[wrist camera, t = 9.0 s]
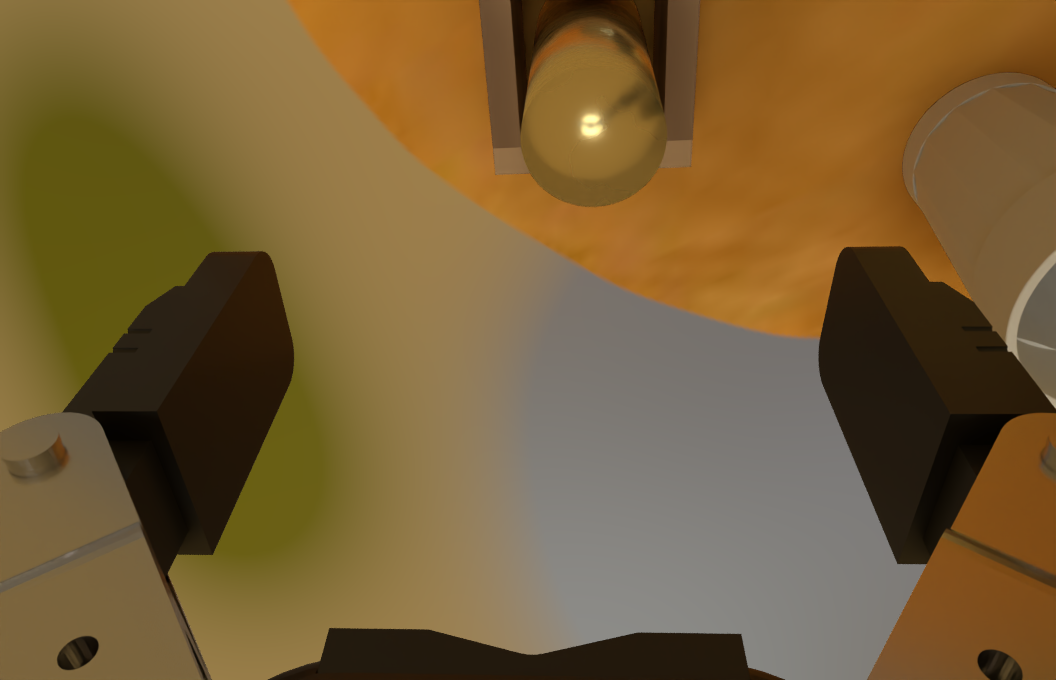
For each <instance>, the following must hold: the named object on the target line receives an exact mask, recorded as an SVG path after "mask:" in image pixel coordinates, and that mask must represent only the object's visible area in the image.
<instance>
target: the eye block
mask: <svg viewBox="0 0 1056 680" xmlns="http://www.w3.org/2000/svg"><path fill="white" fill-rule="evenodd" d="M479 6H480V16H481V27H482V37H483V48H484V58H485V69H486V80H487V90H488V101H489V111H490V122H491V132H492V143H493V154H494V164H495V175H503V174H528V173H530V172H529V170H528V168H527V166H526V164H525V162H524V158H523V155H522V150H521V139H520V134H521V126H522V120H523V113H524V107H525V100H526V94H527V78H526V63H525V48H524V33H523V18H522V2H521V0H479ZM699 13H700V0H655V11H654V52H653V72H654V76H655V80H656V84H657V88H658V92H659V96H660V100H661V104H662V108H663V111H664V115H665V120H666V126H667V144H666V149H665V153H664V157H663V159H662V162H661V164H660V166H659V168H674V167H691V158H692V140H693V122H694V104H695V85H696V67H697V49H698V31H699Z"/></svg>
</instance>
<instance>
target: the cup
mask: <svg viewBox="0 0 1056 680" xmlns="http://www.w3.org/2000/svg"><path fill="white" fill-rule="evenodd" d="M902 170H903V178H904V183H905V186H906V188H907V190H908V192H909V194H910V196H911V197H912V199H913V200H914V201H915V202H916V204H917V205H918V206H919V208H920V209H921V210H922V212H923V213H924V215H925V217H926V219H927V220H928V222H929V224H930V226H931V227H932V229H933V231H934V233H935V234H936V236H937V238H938V240H939V242H940V243H941V245H942V247H943V249H944V250H945V252H946V254H947V256H948V257H949V259H950V261H951V263H952V264H953V266H954V268H955V270H956V271H957V273H958V275H959V277H960V278H961V280H962V282H963V284H964V285H965V287H966V289H967V291H968V292H969V294H970V296H971V298H972V299H973V301H974V303H975V304H976V305H977V307H978V308H979V309H980V311H981V312H982V313H983V315H984V316H985V317H986V318H987V320H988V321H989V322H990V324H991V325H992V326H993V327H992V331H996V332H997V333H998V334H999V335H1000V337H1001V338H1002V339H1003V341H1004V342H1005V343H1006V345H1007V346H1008V348H1007V350H1008V352H1013V354H1014V355H1015V356H1016V358H1017V359H1018V360H1019V362H1020V363H1021V364H1022V365H1023V367H1024V368H1025V369H1026V371H1027V372H1028V373H1029V375H1030V376H1031V377H1032V378H1033V380H1034V381H1035V382H1036V384H1037V385H1038V386H1039V388H1040V389H1041V390H1042V392H1043V393H1044V394H1045V395H1046V397H1047V398H1048V399H1049V401H1050V402H1051V403H1052V405H1053V406H1054V407H1055V408H1056V89H1055V88H1053V87H1052V86H1050V85H1049V84H1047V83H1046V82H1044V81H1043V80H1041V79H1039V78H1036V77H1034V76H1030V75H1027V74H1021V73H997V74H991V75H986V76H982V77H979V78H976V79H973V80H971V81H969V82H966V83H964V84H962V85H960V86H958V87H957V88H955V89H953V90H952V91H950V92H949V93H947V94H946V95H944V96H943V97H942V98H940V99H939V100H938V101H937V102H936V103H935V104H934V105H932V106H931V107H930V108H929V109H928V111H927V112H926V113H925V114H924V115H923V116H922V118H921V119H920V120H919V122H918V123H917V125H916V126H915V128H914V129H913V131H912V133H911V135H910V137H909V139H908V142H907V145H906V148H905V151H904V156H903V165H902Z"/></svg>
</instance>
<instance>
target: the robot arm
mask: <svg viewBox="0 0 1056 680" xmlns="http://www.w3.org/2000/svg"><path fill="white" fill-rule="evenodd" d="M992 327H993V326H992V325H991V324H990V322H989V321H988V320H987V318H986V317H985V316H984V315H983V313H982V312H981V311H980V309H979V308H978V307H977V305H976V304H975V303H974V302H973V301H971V300H970V299H968V298H967V297H965V296H964V295H962V294H960V293H959V292H957V291H956V290H954V289H953V288H951V287H950V286H948V285H947V284H945V283H944V282H929V280H928V279H927V278H926V276H925V275H924V273H923V272H922V271H921V269H920V268H919V266H918V265H917V264H916V262H915V261H914V259H913V258H912V257H911V255H910V254H909V252H908V251H907V250H906V249H905V248H904V247H900V246H897V247H846V248H844V249H843V250H842V251H841V253H840V255H839V257H838V260H837V263H836V268H835V272H834V277H833V281H832V286H831V291H830V295H829V300H828V305H827V309H826V314H825V319H824V323H823V328H822V332H821V337H820V343H819V371H820V377H821V381H822V384H823V387H824V389H825V391H826V394H827V396H828V399H829V401H830V403H831V406H832V408H833V410H834V413H835V415H836V417H837V420H838V422H839V425H840V427H841V430H842V432H843V434H844V437H845V439H846V442H847V444H848V446H849V449H850V451H851V453H852V456H853V458H854V461H855V463H856V465H857V468H858V470H859V473H860V475H861V478H862V480H863V482H864V485H865V487H866V489H867V492H868V494H869V496H870V499H871V502H872V504H873V506H874V509H875V511H876V513H877V516H878V518H879V521H880V523H881V525H882V528H883V530H884V533H885V535H886V537H887V540H888V542H889V545H890V547H891V549H892V552H893V554H894V556H895V559H896V561H897V564H927V565H926V567H925V569H924V571H923V573H922V575H921V577H920V579H919V580H918V582H917V584H916V586H915V588H914V590H913V592H912V594H911V596H910V598H909V600H908V602H907V604H906V606H905V607H904V609H903V611H902V613H901V615H900V617H899V619H898V621H897V623H896V625H895V627H894V629H893V631H892V633H891V634H890V636H889V638H888V640H887V642H886V644H885V646H884V648H883V650H882V652H881V654H880V656H879V658H878V660H877V662H876V664H875V665H874V667H873V669H872V671H871V673H870V675H869V677H868V679H867V680H1056V408H1055V407H1054V406H1053V405H1052V403H1051V402H1050V401H1049V399H1048V398H1047V397H1046V395H1045V394H1044V393H1043V392H1042V390H1041V389H1040V388H1039V386H1038V385H1037V384H1036V382H1035V381H1034V380H1033V378H1032V377H1031V376H1030V375H1029V373H1028V372H1027V371H1026V369H1025V368H1024V367H1023V365H1022V364H1021V363H1020V362H1019V360H1018V359H1017V358H1016V356H1015V355H1014V354H1013V352H1008V350H1007V348H1008V346H1007V345H1006V343H1005V342H1004V341H1003V339H1002V338H1001V337H1000V335H999V334H998V333H997V332H996V331H992ZM293 366H294V349H293V342H292V337H291V333H290V329H289V325H288V321H287V317H286V313H285V309H284V305H283V300H282V296H281V292H280V288H279V284H278V280H277V276H276V272H275V268H274V265H273V263H272V260H271V258H270V256H269V255H268V254H267V253H266V252H262V251H257V252H212V253H209V254H208V255H207V256H206V258H205V259H204V260H203V262H202V263H201V264H200V266H199V267H198V268H197V270H196V271H195V272H194V274H193V275H192V277H191V278H190V279H189V281H188V282H187V283H186V285H185V286H175V287H174V288H172V289H171V290H169V291H168V292H166V293H165V294H163V295H162V296H160V297H159V298H157V299H156V300H154V301H153V302H151V303H150V304H148V305H147V306H145V308H144V309H143V310H142V311H141V313H140V314H139V315H138V316H137V318H136V319H135V320H134V322H133V323H132V324H131V325H130V327H129V328H128V334H123V336H122V337H121V338H120V340H119V341H118V342H117V343H116V345H115V346H114V347H113V353H109V354H108V355H107V356H106V357H105V358H104V360H103V361H102V362H101V364H100V365H99V366H98V367H97V369H96V370H95V371H94V372H93V374H92V375H91V376H90V378H89V379H88V380H87V381H86V383H85V384H84V385H83V386H82V388H81V389H80V390H79V392H78V393H77V394H76V395H75V397H74V398H73V399H72V401H71V402H70V403H69V404H68V406H67V407H66V408H65V409H64V411H63V412H62V413H54V414H47V415H43V416H39V417H35V418H32V419H29V420H25V421H23V422H20V423H18V424H16V425H13V426H11V427H9V428H7V429H5V430H3V431H2V432H0V680H212V679H211V676H210V674H209V672H208V669H207V667H206V664H205V662H204V660H203V657H202V655H201V652H200V650H199V647H198V645H197V643H196V640H195V638H194V635H193V633H192V630H191V628H190V625H189V623H188V621H187V618H186V616H185V613H184V611H183V608H182V606H181V604H180V601H179V599H178V596H177V594H176V592H175V589H174V587H173V584H172V582H171V580H170V578H169V576H168V571H169V569H170V567H171V565H172V563H173V561H174V559H175V557H176V555H177V554H179V555H182V554H183V555H184V554H185V555H186V554H187V555H188V554H189V555H191V554H192V555H213V553H214V551H215V548H216V546H217V544H218V542H219V540H220V538H221V535H222V533H223V531H224V528H225V526H226V524H227V522H228V520H229V518H230V515H231V513H232V511H233V509H234V507H235V504H236V502H237V500H238V498H239V495H240V493H241V491H242V489H243V487H244V484H245V482H246V480H247V478H248V475H249V473H250V471H251V469H252V466H253V464H254V462H255V460H256V458H257V455H258V453H259V451H260V449H261V446H262V444H263V442H264V440H265V437H266V435H267V433H268V431H269V429H270V427H271V424H272V422H273V420H274V417H275V415H276V413H277V411H278V409H279V407H280V404H281V402H282V400H283V398H284V396H285V393H286V391H287V389H288V387H289V384H290V382H291V378H292V374H293ZM268 680H785V679H782V678H779V677H777V676H774V675H771V674H769V673H766V672H763V671H759V670H755V669H752V668H748V665H747V661H746V656H745V651H744V646H743V641H742V636H741V634H703V633H701V634H700V633H634V634H629V635H625V636H620V637H616V638H612V639H607V640H603V641H598V642H593V643H589V644H585V645H581V646H576V647H571V648H567V649H562V650H558V651H553V652H549V653H544V654H538V655H526V654H521V653H517V652H513V651H509V650H505V649H501V648H497V647H494V646H490V645H486V644H482V643H478V642H474V641H471V640H467V639H463V638H459V637H455V636H451V635H447V634H444V633H439V632H435V631H432V630H420V629H418V630H417V629H350V628H347V629H346V628H344V629H343V628H329V632H328V635H327V639H326V642H325V646H324V650H323V653H322V657H321V661H319V662H315V663H311V664H307V665H304V666H301V667H298V668H295V669H292V670H289V671H287V672H283V673H281V674H279V675H277V676H275V677H272V678H270V679H268Z"/></svg>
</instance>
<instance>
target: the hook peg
mask: <svg viewBox="0 0 1056 680" xmlns="http://www.w3.org/2000/svg"><path fill="white" fill-rule="evenodd" d="M520 139H521V150H522V155H523V158H524V162H525V164H526V166H527V168H528V170H529V172H530V174H531V175H532V177H533V178H534V179H535V181H536V182H537V183H538V184H539V185H540V186H541V187H542V188H543V189H544V190H545V191H547V192H548V193H549V194H551V195H552V196H554V197H556V198H558V199H559V200H562V201H564V202H567V203H570V204H574V205H578V206H585V207H597V206H605V205H610V204H614V203H617V202H620V201H622V200H624V199H626V198H628V197H630V196H632V195H633V194H635V193H636V192H638V191H639V190H640V189H641V188H643V187H644V186H645V185H646V184H647V183H648V182H649V181H650V180H651V178H652V177H653V176H654V174H655V173H656V171H657V170H658V168H659V166H660V164H661V162H662V159H663V157H664V153H665V149H666V144H667V126H666V120H665V115H664V111H663V108H662V104H661V100H660V96H659V92H658V88H657V84H656V80H655V76H654V72H653V68H652V64H651V60H650V56H649V52H648V48H647V44H646V40H645V36H644V32H643V28H642V24H641V21H640V17H639V13H638V10H637V8H636V5H635V3H634V2H633V0H546V2H545V3H544V5H543V7H542V9H541V12H540V14H539V18H538V22H537V28H536V35H535V41H534V48H533V55H532V61H531V68H530V74H529V81H528V87H527V94H526V100H525V107H524V113H523V120H522V126H521V134H520Z"/></svg>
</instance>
